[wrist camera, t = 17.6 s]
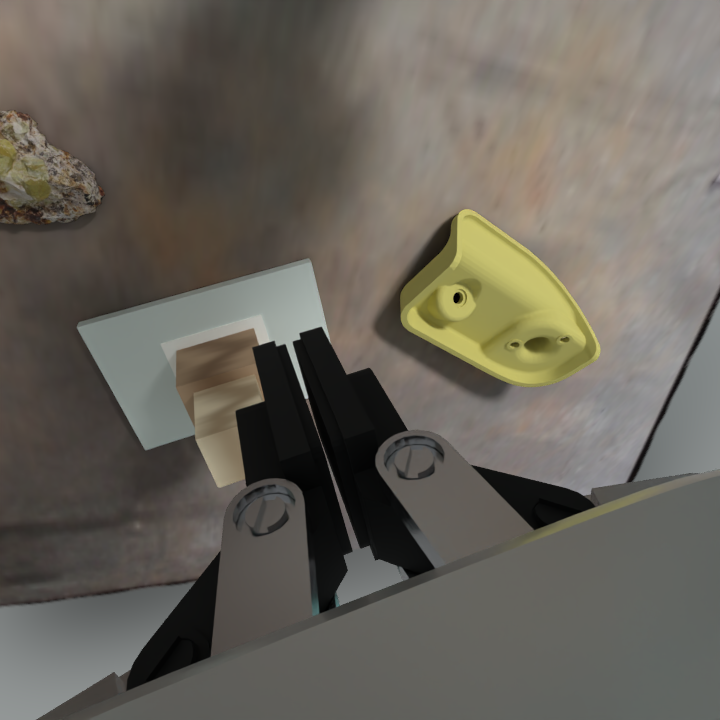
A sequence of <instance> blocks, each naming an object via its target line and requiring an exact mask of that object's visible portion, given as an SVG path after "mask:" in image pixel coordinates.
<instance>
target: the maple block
mask: <svg viewBox="0 0 720 720" xmlns="http://www.w3.org/2000/svg"><path fill="white" fill-rule="evenodd" d="M263 401H264V399H263V397H262V394H261V391H260V388H259V385H258V383H257V380H256V377H255V374H253V375H250V376H247V377H244V378H240V379H237V380H234V381H231V382H228V383H224V384H221V385H218V386H215V387H211V388H208V389H205V390H202V391H199V392H195V393H194V416H195V440H196V442H197V444H198V446H199V448H200V451H201V453H202V455H203V457H204V459H205V461H206V463H207V465H208V467H209V469H210V472H211V474H212V476H213V478H214V480H215V482H216V484H217V486H218V488H220V487H223V486H226V485H229V484H232V483H235V482H238V481H241V480H244V479H245V473H244V466H243V460H242V453H241V447H240V440H239V434H238V427H237V421H236V413H235V411H236V410H238V409H241V408H244V407H248V406H251V405H254V404H257V403H260V402H263Z"/></svg>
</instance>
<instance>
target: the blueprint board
mask: <svg viewBox="0 0 720 720" xmlns="http://www.w3.org/2000/svg"><path fill="white" fill-rule="evenodd" d="M318 327H322V328H323V330H324V332H325V334H326V336H327V338H328V340H329V342H330V338H329V334H328V330H327V326H326V322H325V318H324V313H323V309H322V305H321V301H320V297H319V292H318V288H317V284H316V280H315V276H314V271H313V267H312V263H311V261H310V259H309V258H307V259H304V260H300V261H296V262H293V263H289V264H286V265H282V266H278V267H275V268H271V269H268V270H264V271H260V272H257V273H253V274H250V275H246V276H243V277H239V278H235V279H232V280H228V281H225V282H221V283H217V284H214V285H210V286H207V287H203V288H199V289H196V290H192V291H189V292H185V293H181V294H178V295H174V296H171V297H167V298H164V299H160V300H156V301H153V302H149V303H146V304H142V305H138V306H135V307H131V308H128V309H124V310H120V311H117V312H113V313H110V314H106V315H102V316H99V317H95V318H92V319H88V320H84V321H81V322H78V325H77V329H78V331H79V333H80V334H81V336H82V338H83V340H84V342H85V343H86V345H87V347H88V349H89V351H90V352H91V354H92V356H93V358H94V360H95V361H96V363H97V365H98V367H99V369H100V370H101V372H102V374H103V376H104V377H105V379H106V381H107V383H108V385H109V386H110V388H111V390H112V392H113V394H114V395H115V397H116V399H117V401H118V403H119V404H120V406H121V408H122V410H123V412H124V413H125V415H126V417H127V419H128V420H129V422H130V424H131V426H132V428H133V429H134V431H135V433H136V435H137V437H138V438H139V440H140V442H141V444H142V446H143V447H144V449H145V450H149V449H152V448H155V447H158V446H161V445H164V444H167V443H170V442H173V441H176V440H180V439H183V438H186V437H189V436H192V435H195V427H194V425H193V423H192V421H191V419H190V417H189V415H188V412H187V410H186V408H185V406H184V404H183V402H182V400H181V398H180V395H179V393H178V391H177V389H176V351H177V350H181V349H184V348H187V347H191V346H194V345H197V344H201V343H204V342H208V341H211V340H214V339H218V338H221V337H225V336H228V335H231V334H235V333H238V332H241V331H245V330H248V329H252V328H254V330H255V333H256V336H257V339H258V342H259V345H261V344H265V343H268V342H271V341H275V343H276V346H279V345H283V344H286V347H287V350H288V353H289V355H290V358H291V361H292V364H293V366H294V369H295V372H296V375H297V378H298V380H299V383H300V386H301V389H302V391H303V394H304V397H305V399H307V398H308V395H307V391H306V388H305V384H304V381H303V377H302V374H301V370H300V367H299V364H298V360H297V357H296V353H295V350H294V346H293V342H292V341H296V340H299V339H300V335H299V333H301V332H305V331H308V330H311V329H314V328H318ZM330 344H331V343H330Z"/></svg>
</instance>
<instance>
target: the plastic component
mask: <svg viewBox="0 0 720 720" xmlns="http://www.w3.org/2000/svg"><path fill="white" fill-rule="evenodd" d="M456 292H458V293H459V295H460V299H459V302H458V303H456V304H455V302H454V301H453V296H454V294H455V293H456ZM400 309H401V322H402V324H403V326H404V327H405V328H406V329H407V330H408V331H410V332H412V333H413V334H415V335H417V336H419V337H421V338H423V339H425V340H426V341H428V342H430V343H432V344H434V345H436V346H438V347H439V348H441V349H443V350H445V351H447V352H449V353H451V354H452V355H454V356H456V357H458V358H460V359H462V360H464V361H465V362H467V363H469V364H471V365H473V366H475V367H476V368H478V369H480V370H482V371H484V372H486V373H488V374H490V375H492V376H494V377H496V378H498V379H500V380H502V381H504V382H507V383H510V384H513V385H517V386H522V387H539V386H545V385H550V384H553V383H556V382H559V381H561V380H563V379H566V378H567V377H569V376H571V375H573V374H574V373H576V372H578V371H579V370H581V369H583V368H584V367H586V366H588V365H589V364H591V363H593V362H594V361H596V360H597V359H598V357H599V354H600V345H599V343H598V341H597V338H596V336H595V334H594V332H593V330H592V328H591V326H590V325H589V323H588V321H587V319H586V318H585V316H584V314H583V313H582V311H581V310H580V308H579V306H578V305H577V303H576V302H575V300H574V299H573V298H572V296H571V295H570V293H569V292H568V291H567V289H566V288H565V287H564V285H563V284H562V283H561V282H560V281H559V279H558V278H557V277H556V276H555V275H554V274H553V273H552V272H551V270H550V269H549V268H548V267H547V266H546V265H545V264H544V263H543V262H542V261H540V260H539V259H538V258H537V257H536V256H535V255H534V254H533V253H531V252H530V251H529V250H528V249H526V248H525V247H523V246H522V245H521V244H519V243H518V242H516V241H515V240H514V239H512V238H511V237H510V236H508V235H507V234H505V233H504V232H503V231H501V230H500V229H498V228H497V227H496V226H494V225H493V224H492V223H490V222H489V221H487V220H486V219H485V218H483V217H482V216H480V215H479V214H478V213H476V212H474V211H472V210H468V209H465V210H462V211H461V212H460V213H459V214H458V215H456V216H455V217H454V219H453V221H452V224H451V235H450V238H449V240H448V242H447V244H446V246H445V247H444V249H443V250H442V251H441V252H440V253H439V254H438V255H437V256H436V257H435V258H434V259H433V260H432V261H431V262H430V263H429V264H428V265H426V266H425V267H424V268H423V269H422V270H421V271H420V272H419V273H418V274H417V275H416V276H415V277H414V278H413V279H412V280H411V281H410V282H408V283H407V284H406V285H405V287H404V288H403V290H402V292H401V295H400ZM563 337H566V338H563ZM514 342H516V343H514ZM512 343H513V344H512Z"/></svg>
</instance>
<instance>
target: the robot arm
mask: <svg viewBox="0 0 720 720" xmlns="http://www.w3.org/2000/svg"><path fill="white" fill-rule="evenodd" d="M299 335H300V339H299V340H296V341H292V342H293V346H294V350H295V353H296V357H297V360H298V364H299V367H300V370H301V374H302V377H303V381H304V384H305V388H306V391H307V395H308V398H309V402H310V405H311V409H312V412H313V416H314V419H315V422H316V426H317V429H318V433H319V436H320V439H321V442H322V444H323V447H324V450H325V453H326V455H327V458H328V461H329V464H330V466H331V469H332V472H333V475H334V477H335V480H336V483H337V486H338V488H339V491H340V494H341V497H342V500H343V502H344V505H345V508H346V511H347V513H348V516H349V519H350V522H351V524H352V527H353V530H354V533H355V535H356V538H357V541H358V544H359V546H360V548H364V547H367V546H369V545H370V548H371V550H372V553H373V556H374V558H375V560H378V559H380V560H383V561H386V562H389V563H391V564H394V565H397V567H398V570H399V573H400V575H401V578H402V579H403V581H402V582H400V583H397V584H395V585H392V586H389V587H387V588H384V589H382V590H379V591H377V592H374V593H372V594H369V595H367V596H364V597H361V598H359V599H356V600H354V601H351V602H349V603H346V604H343V605H341V606H340V605H339V600H338V596H337V593H336V590H337V589H338V587H339V585H340V583H341V582H342V580H343V578H344V576H345V574H346V573H347V571H348V570H347V566H346V563H345V560H344V556H343V555H345V554H348V553H350V552H352V547H351V544H350V540H349V537H348V534H347V530H346V527H345V523H344V520H343V516H342V513H341V509H340V506H339V502H338V499H337V495H336V492H335V488H334V485H333V482H332V478H331V475H330V471H329V468H328V464H327V461H326V457H325V454H324V451H323V448H322V445H321V442H320V439H319V436H318V433H317V430H316V428H315V425H314V422H313V419H312V416H311V414H310V411H309V408H308V405H307V403H306V400H305V397H304V394H303V391H302V389H301V386H300V383H299V380H298V378H297V375H296V372H295V369H294V366H293V364H292V361H291V358H290V355H289V353H288V350H287V347H286V344H283V345H279V346H276V343H275V341H271V342H268V343H265V344H261V345H258V346H255V347H252V350H253V354H254V358H255V362H256V366H257V370H258V374H259V379H260V383H261V387H262V391H263V395H264V399H265V401H263V402H260V403H257V404H254V405H251V406H248V407H244V408H241V409H238V410H236V411H235V413H236V421H237V427H238V434H239V440H240V447H241V453H242V460H243V466H244V473H245V479H246V486H247V487H246V488H245V489H243V490H241V491H240V492H239V493H238V494H237V495H236V496H235V497H234V498H233V499H232V501H231V502H230V504H229V506H228V507H227V509H226V513H225V516H224V522H223V533H222V543H221V551H220V552H219V553H218V555H217V556H216V557H215V558H214V560H213V561H212V562H211V563H210V565H209V566H208V567H207V568H206V570H205V571H204V572H203V574H202V575H201V576H200V577H199V579H198V580H197V581H196V582H195V584H194V585H193V586H192V587H191V589H190V590H189V591H188V592H187V594H186V595H185V596H184V597H183V599H182V600H181V601H180V602H179V604H178V605H177V607H176V608H175V609H174V610H173V611H172V613H171V614H170V615H169V616H168V618H167V619H166V620H165V621H164V623H163V624H162V625H161V627H160V628H159V629H158V630H157V631H156V633H155V634H154V635H153V636H152V638H151V639H150V640H149V642H148V643H147V644H146V646H145V647H144V648H143V649H142V651H141V652H140V654H139V655H138V657H137V658H136V660H135V662H134V664H133V665H132V668H131V670H130V671H128V672H126V673H125V674H123V675H122V676H120V677H118V676H117V675H116V674H115V672H113V673H112V674H110V675H109V676H107V677H105V678H104V679H102V680H100V681H99V682H97V683H96V684H94V685H92V686H91V687H89V688H87V689H86V690H84V691H82V692H81V693H79V694H78V695H76V696H75V697H73V698H71V699H69V700H68V701H66V702H64V703H63V704H61V705H60V706H58V707H56V708H55V709H53V710H51V711H50V712H48V713H47V714H45V715H43V716H42V717H40V718H38V719H37V720H720V469H718V470H712V471H708V472H704V473H689V474H682V475H676V476H669V477H663V478H656V479H650V480H643V481H638V482H631V483H624V484H618V485H611V486H605V487H598V488H592V490H591V495H586V496H583V495H581V494H580V493H578V492H575V491H572V490H570V489H567V488H563V487H559V486H555V485H551V484H547V483H543V482H539V481H535V480H531V479H526V478H522V477H518V476H514V475H510V474H506V473H502V472H498V471H494V470H490V469H486V468H481V467H477V466H473V465H470V464H469V463H468V462H467V461H466V460H465V459H464V458H463V457H462V456H461V455H460V454H459V453H458V452H457V451H456V450H455V449H454V448H453V447H452V446H451V445H450V444H449V443H448V442H447V441H446V440H445V439H444V438H442V437H441V436H440V435H438V434H435V433H432V432H430V431H423V430H411V431H408V430H407V428H406V426H405V425H404V423H403V421H402V420H401V418H400V416H399V415H398V413H397V411H396V410H395V408H394V406H393V405H392V403H391V401H390V400H389V398H388V396H387V395H386V393H385V391H384V390H383V388H382V386H381V385H380V383H379V381H378V380H377V378H376V376H375V375H374V373H373V371H372V370H371V369H370V368H367V369H364V370H361V371H357V372H354V373H351V374H348V375H346V373H345V371H344V369H343V367H342V365H341V363H340V361H339V359H338V357H337V355H336V353H335V351H334V349H333V347H332V345H331V344H330V342H329V340H328V338H327V336H326V334H325V332H324V330H323V328H322V327H318V328H314V329H311V330H308V331H305V332H301V333H299Z"/></svg>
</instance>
